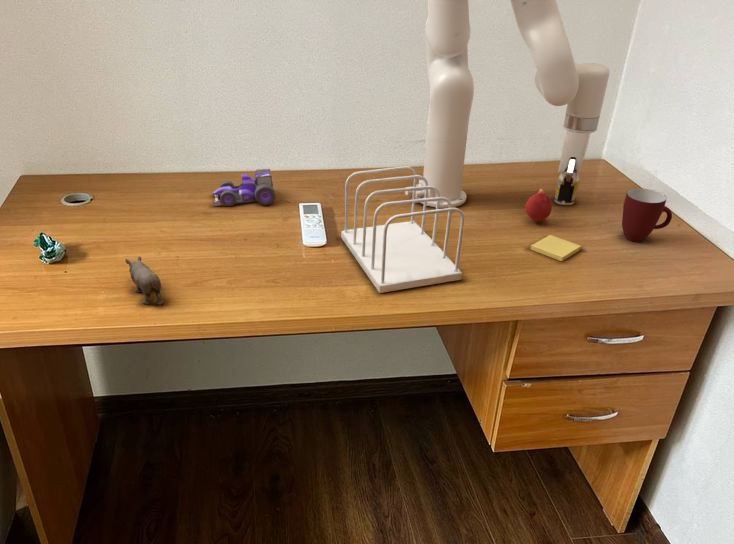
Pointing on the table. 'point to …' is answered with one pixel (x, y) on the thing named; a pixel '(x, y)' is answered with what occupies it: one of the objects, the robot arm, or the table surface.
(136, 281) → the rhino figurine
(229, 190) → the toy race car
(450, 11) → the robot arm
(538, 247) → the sticky note pad
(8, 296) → the table surface
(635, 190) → the mug
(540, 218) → the onion
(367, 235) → the file sorter
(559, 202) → the supplement bottle
